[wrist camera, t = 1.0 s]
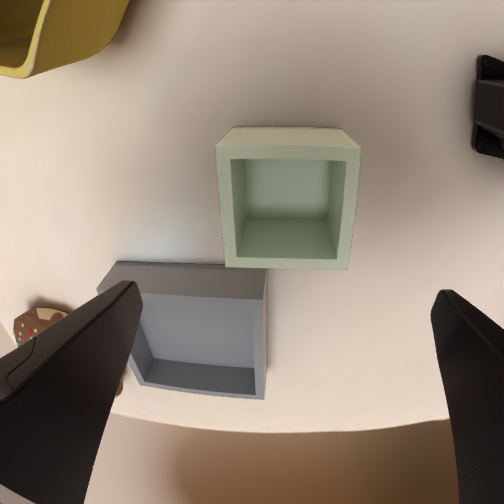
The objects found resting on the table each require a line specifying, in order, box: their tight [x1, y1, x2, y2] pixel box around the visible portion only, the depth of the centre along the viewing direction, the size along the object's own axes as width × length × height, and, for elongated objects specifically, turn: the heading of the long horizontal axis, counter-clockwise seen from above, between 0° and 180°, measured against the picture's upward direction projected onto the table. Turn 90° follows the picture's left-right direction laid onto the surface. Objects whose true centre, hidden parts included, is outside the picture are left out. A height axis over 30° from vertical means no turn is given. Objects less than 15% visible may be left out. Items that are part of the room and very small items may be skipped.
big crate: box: [97, 261, 267, 400], centre depth 23 cm, size 11×11×4 cm
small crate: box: [215, 126, 361, 270], centre depth 16 cm, size 6×6×5 cm
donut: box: [13, 307, 123, 398], centre depth 28 cm, size 14×14×5 cm
